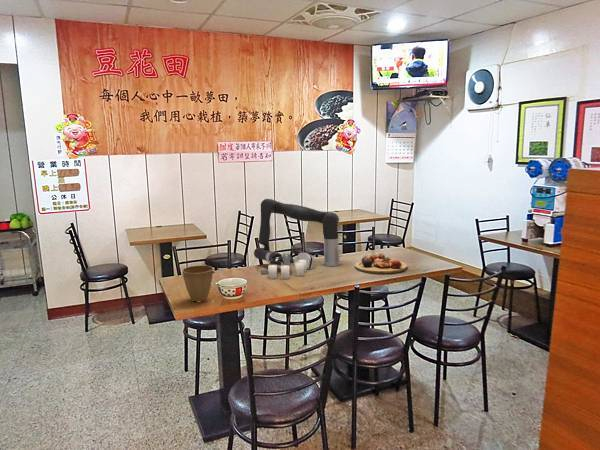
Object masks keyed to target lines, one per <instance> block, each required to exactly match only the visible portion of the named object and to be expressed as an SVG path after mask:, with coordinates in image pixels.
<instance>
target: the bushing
mask: <svg viewBox="0 0 600 450" xmlns="http://www.w3.org/2000/svg"><path fill="white" fill-rule="evenodd" d="M282 256H283V263H282V266H283V265H289V266H290V276H291V275H292V271H291V269H292V268H291V263H290V257H291V254H290V253H283V254H282Z"/></svg>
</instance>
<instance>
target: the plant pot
mask: <svg viewBox="0 0 600 450" xmlns="http://www.w3.org/2000/svg"><path fill="white" fill-rule="evenodd" d="M181 272H182V277H183V280H184V284H185V289H186V290H187V294H188V296H189V298H190V300H191V302H193V301H204V300H206V299H207V300H208V298H209V293H210V291H211V286H212V282H213V275H214V274H213V273H214V267H213V266H211V265H192V266H187V267H184V268H183V269H181ZM207 300H206V301H207ZM204 302H205V301H204Z"/></svg>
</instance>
